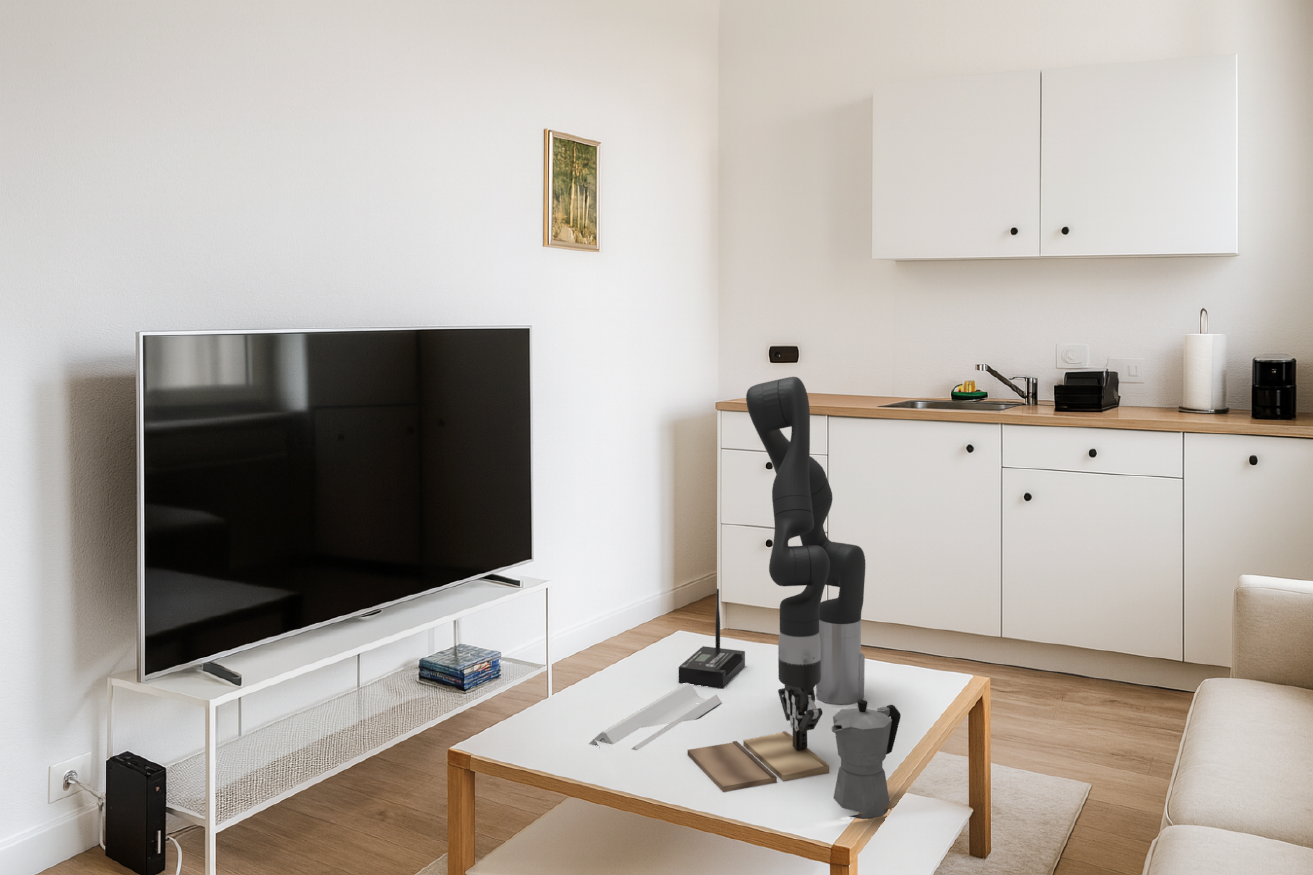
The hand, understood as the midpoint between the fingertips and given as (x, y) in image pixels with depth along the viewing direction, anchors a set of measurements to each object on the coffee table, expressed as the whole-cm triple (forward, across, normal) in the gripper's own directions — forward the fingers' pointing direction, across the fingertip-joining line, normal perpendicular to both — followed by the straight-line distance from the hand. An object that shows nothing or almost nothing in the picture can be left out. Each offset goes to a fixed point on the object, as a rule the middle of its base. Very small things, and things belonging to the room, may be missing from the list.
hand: (799, 748), depth 184 cm
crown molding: (+3, +27, +18) cm, 32 cm away
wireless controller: (+3, +50, -5) cm, 51 cm away
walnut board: (+2, 0, +14) cm, 14 cm away
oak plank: (+2, 0, +3) cm, 4 cm away
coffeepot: (+3, -19, -2) cm, 19 cm away
